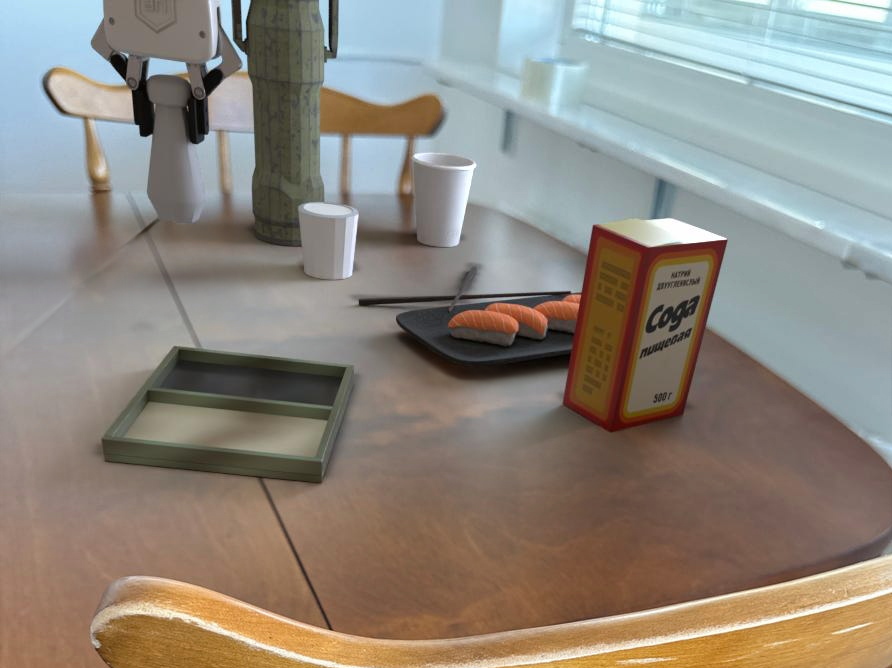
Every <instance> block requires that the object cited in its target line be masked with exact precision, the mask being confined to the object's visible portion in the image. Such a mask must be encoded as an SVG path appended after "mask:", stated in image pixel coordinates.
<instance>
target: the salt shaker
mask: <svg viewBox="0 0 892 668" xmlns="http://www.w3.org/2000/svg"><path fill="white" fill-rule="evenodd" d="M146 90H147V96H148V99H149V100H150V101H151V102H153V103H154V110H155V116H154V125H153V134H152V135H151V144H150V145H151V147H150V154H149V165H148V175H147V186H146V195H147V198H148V200H149V201H150V203H151V205H152V208H153V209H154V211H155V212H156V215H157V217H158V220H159V221H164V222H168V223H172V224H194V223H195V222H197V221H199V219H200V217H201V214H202V211H203V208H204V206H205V202H206V199H207V198H206V196H207V193H206V190H205V185H204V180H203V176H202V171H201V165H200V162H199V156H198V152H197V146H196V144H192V142H190V137H189V119H188V99H189V98H191V91H192V88H191V84H190V81H189V80H187V79H186V78H184V77H182V76H178V75H172V74H164V73H163V74H161V73H160V74H152V75H150V76H148V78H147V85H146Z"/></svg>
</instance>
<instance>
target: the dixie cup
mask: <svg viewBox="0 0 892 668" xmlns="http://www.w3.org/2000/svg"><path fill="white" fill-rule="evenodd" d="M410 158H411V161H412V169H413V185H414V187H413V188H414V206H415V224H416V241H418V242H419V243H421V244H423V245H427V246H430V247H436V248H437V247H438V248H452V247H456V246H458V245H459V244H460V240H461V234H462V228H463V224H464V218H465V214H466V208H467V204H468V199H469V195H470V189H471V184H472V180H473V174H474V170H475V168H476V167H477V163H476V162H475V160H473V159H471V158H468V157H466V156H462V155H457V154H452V153H446V152H444V153H443V152H435V151H434V152H431V151H429V152H427V151H426V152H417V153H414V154H413V155H412V156H411V157H410Z"/></svg>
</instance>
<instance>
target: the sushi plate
mask: <svg viewBox="0 0 892 668" xmlns="http://www.w3.org/2000/svg"><path fill="white" fill-rule="evenodd" d="M477 271H478V267H477V266H471V268H470V270H469V272H468V274H467V275H466V277H465V279H464V281H463V282H462V285H461V286H460V289H459V290H458V292H457V293H456V294H455V295H453V294H452V295H451V294H450V295H422V296H418V295H417V296H394V297H393V296H391V297H369V298H367V297H366V298H365V297H364V298H358V306H373V305H374V306H376V305H378V306H379V305H394V304H395V305H396V304H412V303H413V304H414V303H429V302H430V303H432V302H446V301H447V302H448V301H451V304H450V305H447V306H439V307H438V306H437V307H429V308H421V309H415V310H409V311H404V312H400V313H399V314H397V315H395V322H396V324H397V325H398V326H399V328H401V329H402V330H403V331H404V332H405V333H407V334H408V335H409V336H410V337H412V338H414V339H415V340H416V341H418V342H419V343H421V344H422V345H423V346H424V347H427V348H428V349H429V350H431V351H432V352H434V353H436V354H437V355H439V356H440V357H442V358H444V359H445V360H448V361H450V362H453V363H454V364H458V365H461V366H469V367H491V366H499V365H507V364H513V363H520V362H526V361H534V360H541V359H547V358H552V357H561V356H566V355H571V351H572V345H573V339H574V333H575V327H576V322H577V316H578V310H579V304H580V298H581V292H582V291H579V292H572V291H571V290H557V291H555V290H554V291H535V292H534V291H533V292H531V291H530V292H512V293H510V292H508V293H507V292H506V293H482V294H481V293H479V294H463V293H464V291H465V290H466V288H467V287H468V286H469V284H470V283H471V281H472V280H473V278H474V276H475V275H476V273H477ZM520 297H521V298H520ZM502 298H512V299H503V300H501V299H502ZM480 299H500V300H494V301H483V302H474V303H466V304H464V303H463V304H457V303H458V301H465V300H480Z"/></svg>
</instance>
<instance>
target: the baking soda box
mask: <svg viewBox="0 0 892 668" xmlns="http://www.w3.org/2000/svg"><path fill="white" fill-rule="evenodd" d="M589 239H590V240H589V246H588V250H587V251H588V252H587V258H586V263H585V267H584V268H585V270H584V275H583V281H582V287H581V291H580V292H581V298H580V304H579V310H578V316H577V322H576V327H575V333H574V339H573V345H572V351H571V354H570V357H569V364H568V370H567V375H566V381H565V386H564V393H563V400H562V405H563V406H565V407H568V408H569V409H571V410H572V411H574V412H576V413H577V414H579V415H581V416H582V417H584V418H585V419H588V420H589V421H591V422H592V423H594V424H596V425H597V426H599V427H601V428H603V429H605V430H606V431H607V432H609V433H613V432H617V431H618V432H619V431H621V430H625V429H629V428H633V427H637V426H641V425H645V424H650V423H653V422H657V421H662V420H665V419H669V418H674V417H677V416H681V415H684V413H685V409H686V405H687V401H688V397H689V394H690V390H691V385H692V382H693V377H694V374H695V370H696V366H697V362H698V358H699V354H700V351H701V346H702V343H703V339H704V335H705V330H706V326H707V323H708V319H709V315H710V311H711V307H712V304H713V299H714V295H715V291H716V288H717V284H718V281H719V276H720V272H721V269H722V264H723V261H724V257H725V253H726V249H727V245H728V241H729V239H728V238H726V237H724V236H722V235H718V234H716V233H713V232H710V231H707V230H705V229H703V228H700V227H696V226H694V225H692V224H689V223H687V222H683V221H680V220H678V219H675V218H673V217H669V218H655V219H641V218H639V217H634V218H633V217H632V218H627V219H622V220H616V221H609V222H603V223H596V224H592V228H591V233H590V238H589Z"/></svg>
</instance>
